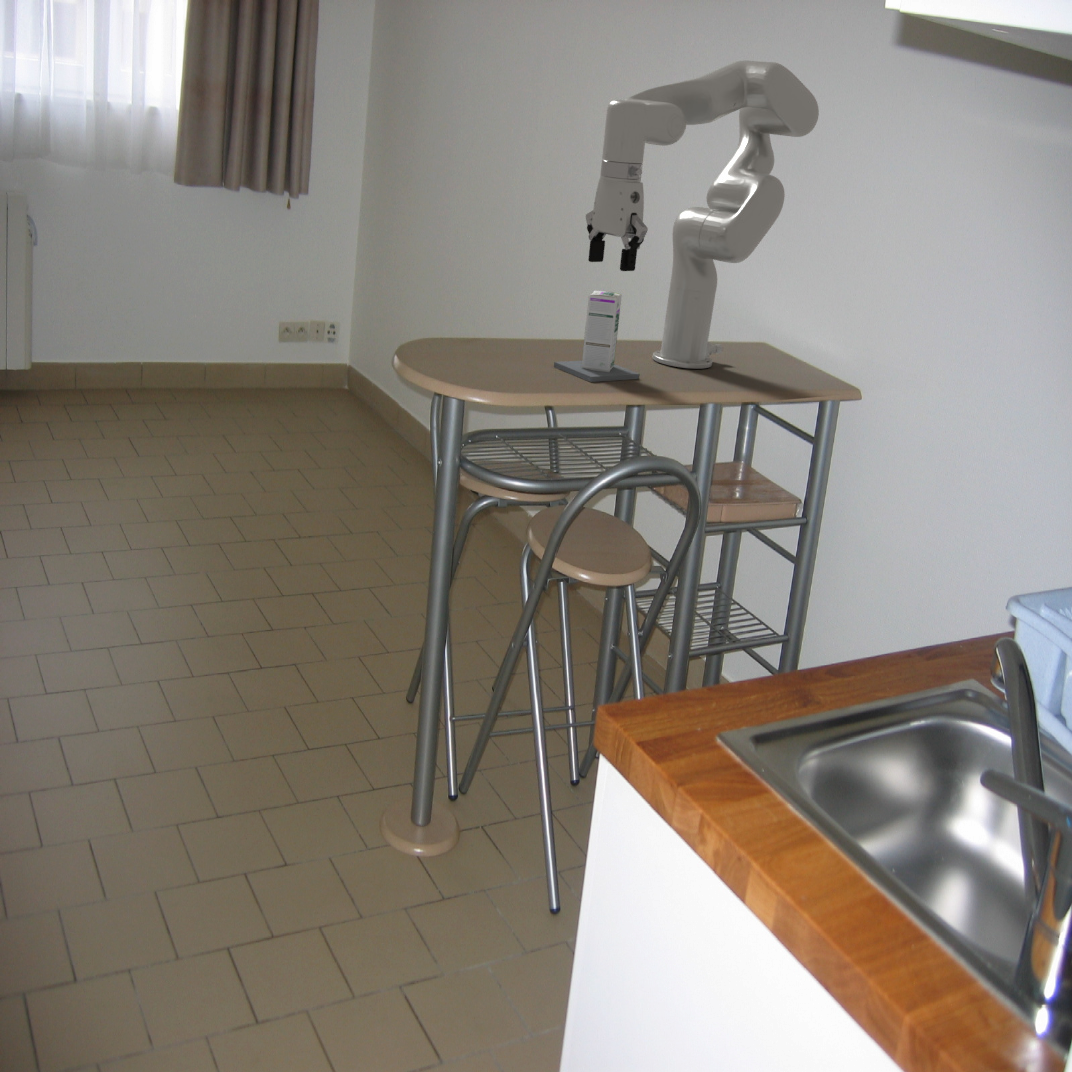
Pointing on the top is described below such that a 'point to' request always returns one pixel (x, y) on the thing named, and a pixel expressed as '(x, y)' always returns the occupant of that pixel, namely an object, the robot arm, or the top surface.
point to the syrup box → (601, 330)
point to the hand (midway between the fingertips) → (611, 266)
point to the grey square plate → (596, 372)
